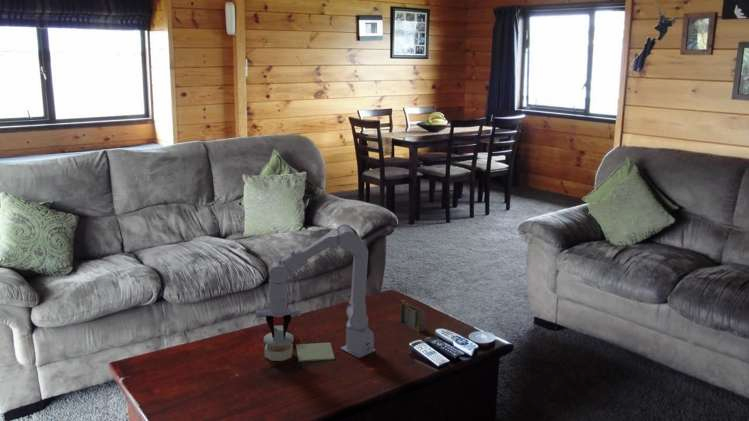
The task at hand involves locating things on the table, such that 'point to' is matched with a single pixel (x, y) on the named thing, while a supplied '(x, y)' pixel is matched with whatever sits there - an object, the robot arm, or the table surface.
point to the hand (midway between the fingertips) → (278, 336)
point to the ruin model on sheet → (412, 316)
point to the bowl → (278, 352)
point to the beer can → (278, 321)
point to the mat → (314, 352)
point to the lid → (278, 338)
